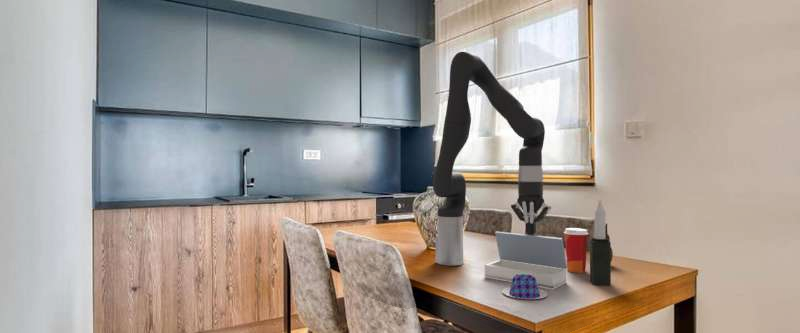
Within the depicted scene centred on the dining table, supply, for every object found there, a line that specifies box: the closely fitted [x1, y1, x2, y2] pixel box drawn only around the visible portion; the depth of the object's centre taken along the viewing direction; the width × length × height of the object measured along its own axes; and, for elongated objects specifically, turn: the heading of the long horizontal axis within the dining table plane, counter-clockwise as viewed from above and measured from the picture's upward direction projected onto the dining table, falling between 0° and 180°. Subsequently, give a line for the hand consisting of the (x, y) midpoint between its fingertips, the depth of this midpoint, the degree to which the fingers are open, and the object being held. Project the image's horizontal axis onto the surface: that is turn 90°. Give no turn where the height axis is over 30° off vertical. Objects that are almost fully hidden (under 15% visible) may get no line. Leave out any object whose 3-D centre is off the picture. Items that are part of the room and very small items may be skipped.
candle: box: [589, 199, 612, 287], centre depth 133 cm, size 5×5×25 cm
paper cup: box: [563, 227, 589, 274], centre depth 149 cm, size 8×8×14 cm
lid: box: [494, 231, 567, 270], centre depth 140 cm, size 22×10×1 cm
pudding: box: [501, 274, 548, 300], centre depth 122 cm, size 12×12×5 cm
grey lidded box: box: [484, 259, 567, 291], centre depth 137 cm, size 22×10×4 cm, turn 49°
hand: (530, 234), depth 141 cm, fingers closed
